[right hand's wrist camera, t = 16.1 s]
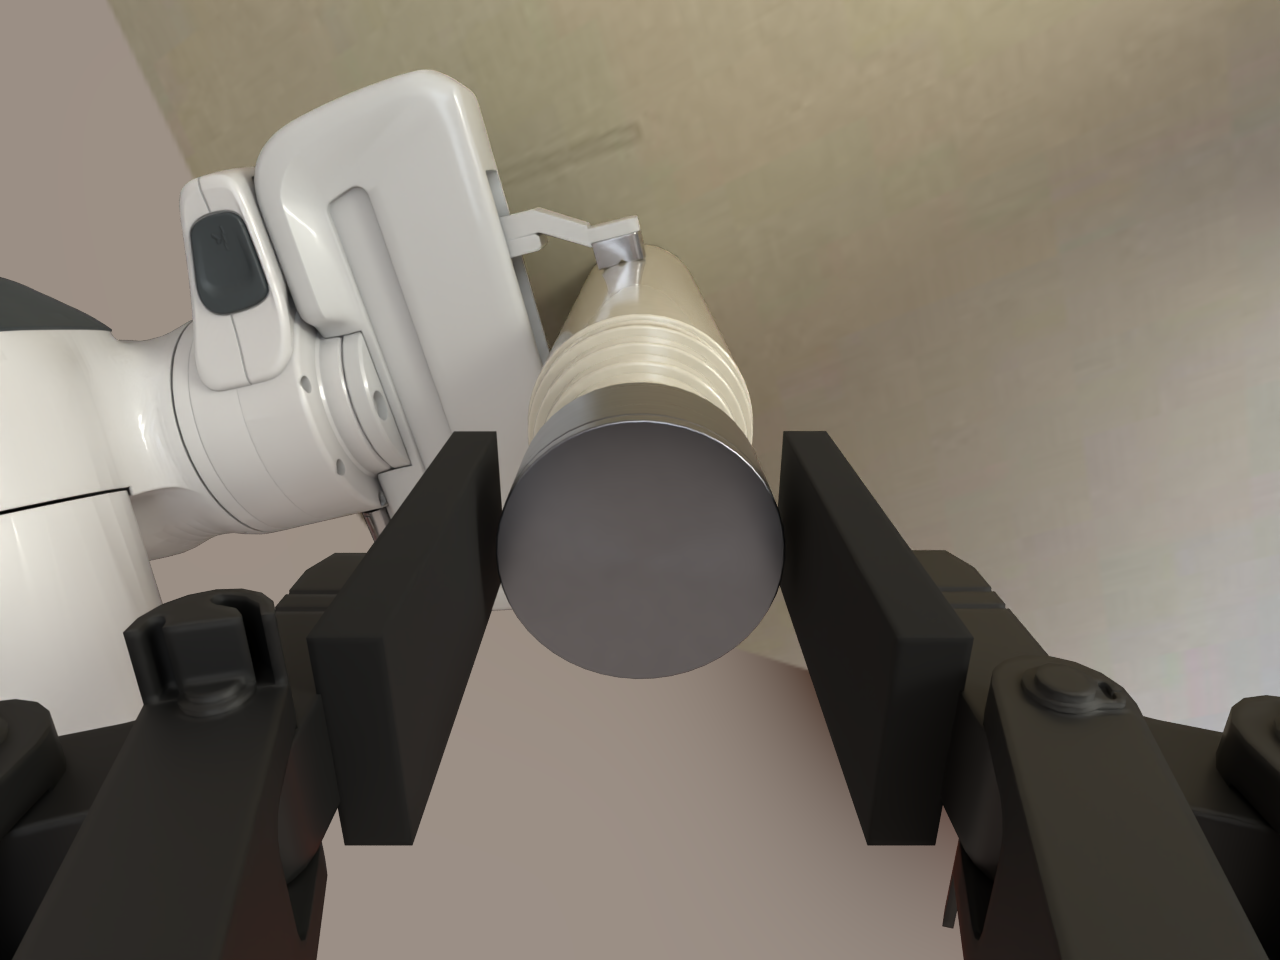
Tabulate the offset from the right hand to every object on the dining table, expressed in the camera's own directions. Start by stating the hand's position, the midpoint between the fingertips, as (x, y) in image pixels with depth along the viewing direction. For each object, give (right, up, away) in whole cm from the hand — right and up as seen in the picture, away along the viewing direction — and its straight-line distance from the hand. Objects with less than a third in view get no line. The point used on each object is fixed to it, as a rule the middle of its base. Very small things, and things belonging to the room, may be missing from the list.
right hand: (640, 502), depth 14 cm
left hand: (+1, +6, +15) cm, 16 cm away
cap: (0, -1, -2) cm, 2 cm away
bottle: (0, +8, +21) cm, 22 cm away
